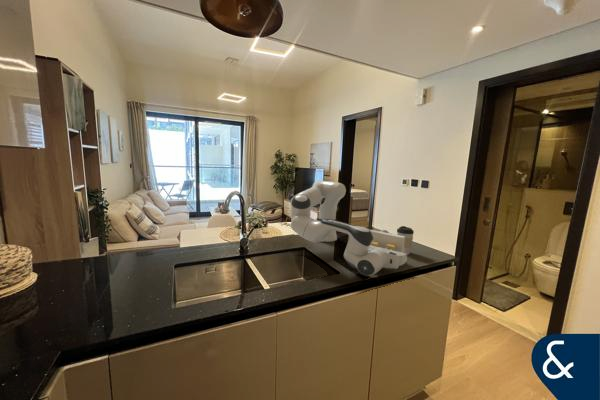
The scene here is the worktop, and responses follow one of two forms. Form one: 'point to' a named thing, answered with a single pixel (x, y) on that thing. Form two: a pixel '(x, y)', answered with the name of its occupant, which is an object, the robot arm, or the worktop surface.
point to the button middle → (375, 244)
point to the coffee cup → (406, 237)
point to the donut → (384, 232)
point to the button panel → (389, 240)
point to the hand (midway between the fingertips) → (389, 249)
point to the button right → (391, 246)
